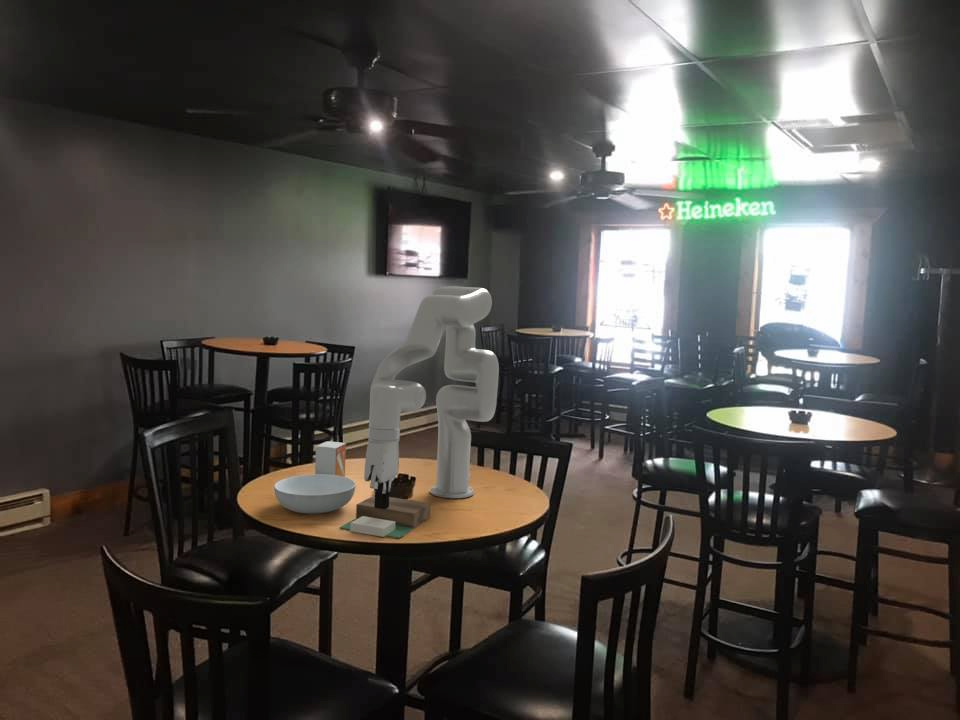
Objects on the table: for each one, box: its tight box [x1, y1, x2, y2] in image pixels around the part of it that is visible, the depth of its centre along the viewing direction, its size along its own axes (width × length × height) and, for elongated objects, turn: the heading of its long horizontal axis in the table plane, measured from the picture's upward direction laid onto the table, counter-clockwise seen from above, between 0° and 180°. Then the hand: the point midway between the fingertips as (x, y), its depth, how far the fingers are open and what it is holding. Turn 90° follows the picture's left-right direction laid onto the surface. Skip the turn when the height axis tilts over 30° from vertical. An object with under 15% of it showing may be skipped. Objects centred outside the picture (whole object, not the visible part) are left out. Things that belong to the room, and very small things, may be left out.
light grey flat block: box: [350, 516, 395, 538], centre depth 179 cm, size 6×9×2 cm, turn 70°
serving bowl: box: [273, 473, 357, 515], centre depth 195 cm, size 21×21×7 cm
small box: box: [314, 440, 347, 477], centre depth 215 cm, size 8×6×13 cm
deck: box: [355, 494, 431, 530], centre depth 190 cm, size 10×16×4 cm, turn 70°
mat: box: [339, 518, 414, 539], centre depth 181 cm, size 8×16×1 cm, turn 70°
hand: (381, 507), depth 183 cm, fingers closed
